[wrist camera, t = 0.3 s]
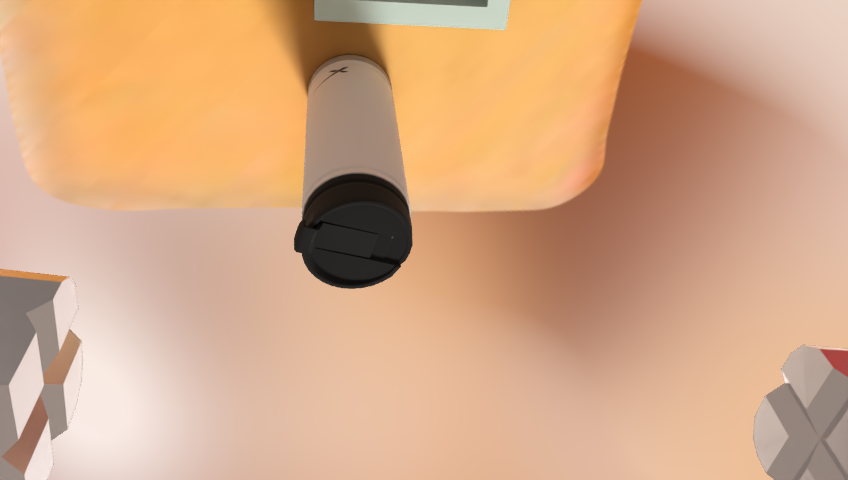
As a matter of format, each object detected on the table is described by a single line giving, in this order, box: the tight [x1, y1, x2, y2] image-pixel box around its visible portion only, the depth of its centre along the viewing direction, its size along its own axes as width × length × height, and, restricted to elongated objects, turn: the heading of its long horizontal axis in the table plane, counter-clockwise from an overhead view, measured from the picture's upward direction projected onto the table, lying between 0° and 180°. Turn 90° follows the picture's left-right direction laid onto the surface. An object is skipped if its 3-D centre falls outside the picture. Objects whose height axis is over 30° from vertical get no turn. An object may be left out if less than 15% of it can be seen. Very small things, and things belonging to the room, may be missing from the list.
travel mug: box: [294, 55, 412, 289], centre depth 50 cm, size 6×7×20 cm
